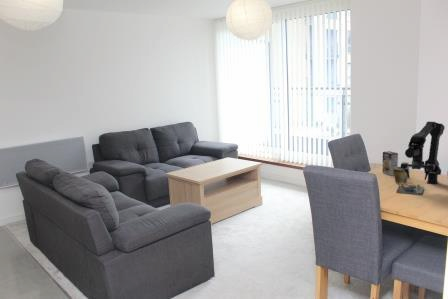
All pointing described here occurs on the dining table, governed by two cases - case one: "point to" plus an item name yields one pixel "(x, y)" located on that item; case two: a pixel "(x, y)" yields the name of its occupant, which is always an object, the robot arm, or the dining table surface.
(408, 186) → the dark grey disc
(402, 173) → the ceramic cup
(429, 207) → the dining table surface
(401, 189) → the hub plate
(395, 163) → the coffee box
